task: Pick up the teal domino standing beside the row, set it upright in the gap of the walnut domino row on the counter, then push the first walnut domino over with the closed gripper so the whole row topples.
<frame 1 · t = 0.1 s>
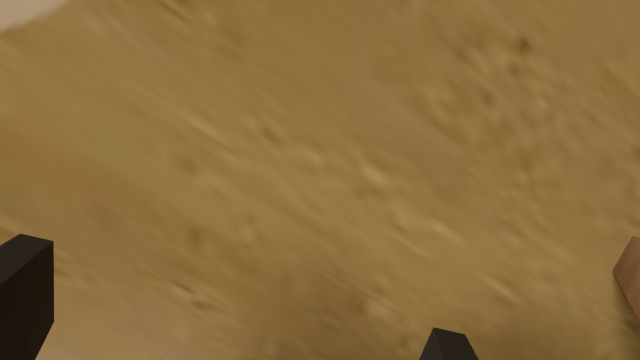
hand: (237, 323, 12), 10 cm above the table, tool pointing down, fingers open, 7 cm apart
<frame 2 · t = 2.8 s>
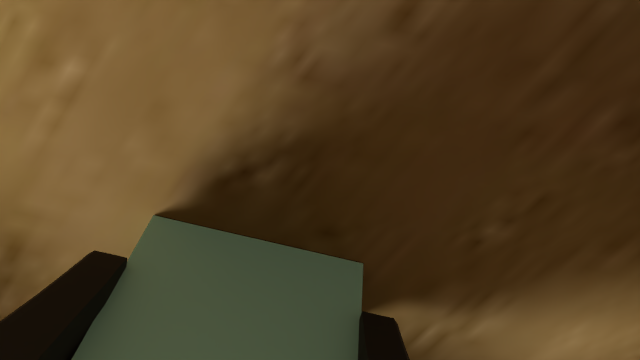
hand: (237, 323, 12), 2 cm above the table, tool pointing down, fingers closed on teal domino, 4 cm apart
teal domino: (252, 269, 13), on the table, touching gripper
when the fingers open (2 cm above the table, at t = 6.3 s): teal domino stays where it is, on the table.
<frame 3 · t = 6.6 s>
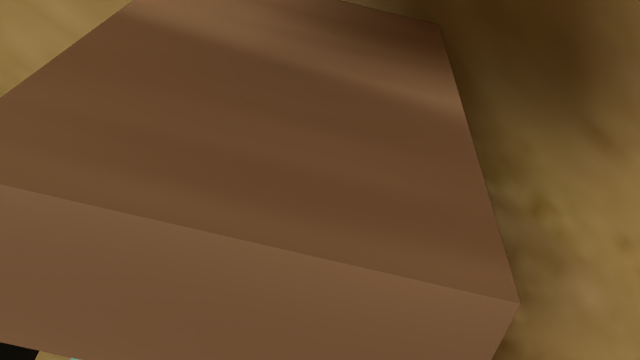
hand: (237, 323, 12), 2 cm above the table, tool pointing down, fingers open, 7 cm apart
walnut domino 3: (303, 38, 11), on the table
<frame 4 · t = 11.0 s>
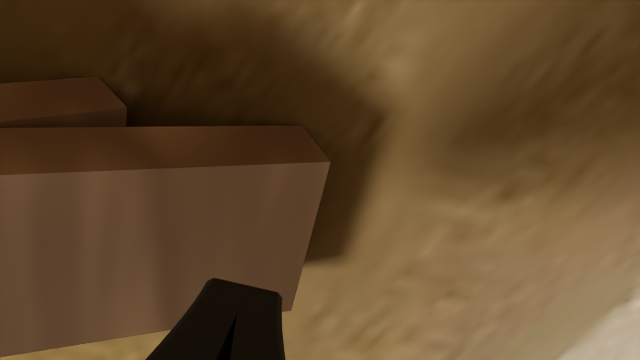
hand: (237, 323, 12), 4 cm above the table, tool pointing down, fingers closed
walnut domino 2: (107, 174, 15), point 1 cm above the table, tilted 46°
walnut domino 1: (296, 221, 15), point 1 cm above the table, tilted 61°
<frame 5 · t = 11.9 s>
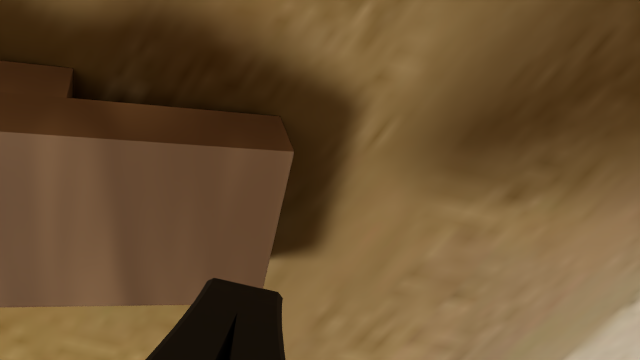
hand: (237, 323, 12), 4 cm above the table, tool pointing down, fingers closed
walnut domino 2: (69, 167, 14), point 1 cm above the table, tilted 71°, touching teal domino, walnut domino 1
walnut domino 1: (269, 213, 15), point 1 cm above the table, tilted 71°, touching walnut domino 2
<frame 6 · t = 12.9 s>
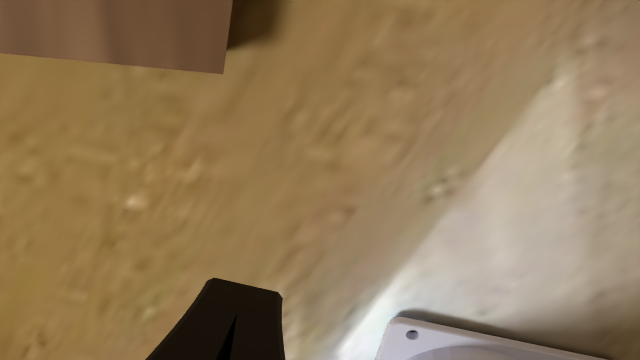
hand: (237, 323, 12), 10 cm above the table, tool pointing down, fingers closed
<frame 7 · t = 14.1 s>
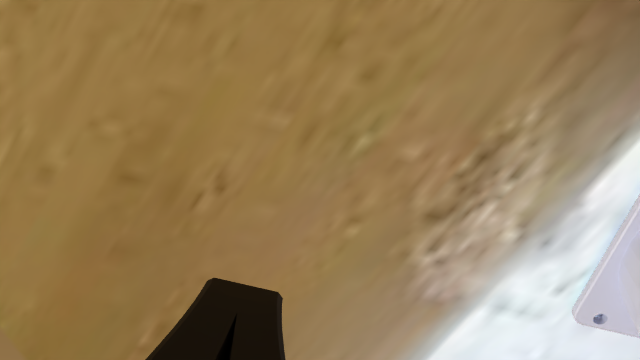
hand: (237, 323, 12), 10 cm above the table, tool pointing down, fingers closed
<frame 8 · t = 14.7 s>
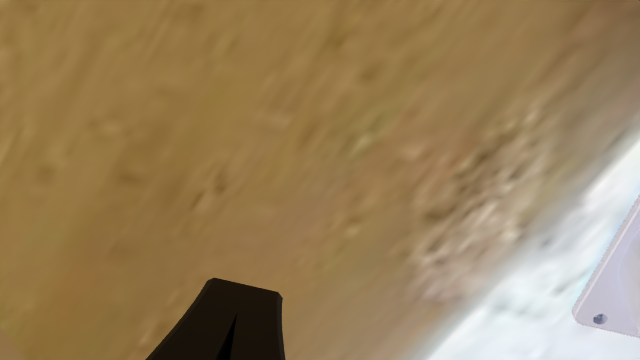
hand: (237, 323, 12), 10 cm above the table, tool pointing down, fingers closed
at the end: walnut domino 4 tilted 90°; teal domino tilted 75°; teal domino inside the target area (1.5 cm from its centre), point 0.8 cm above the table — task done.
